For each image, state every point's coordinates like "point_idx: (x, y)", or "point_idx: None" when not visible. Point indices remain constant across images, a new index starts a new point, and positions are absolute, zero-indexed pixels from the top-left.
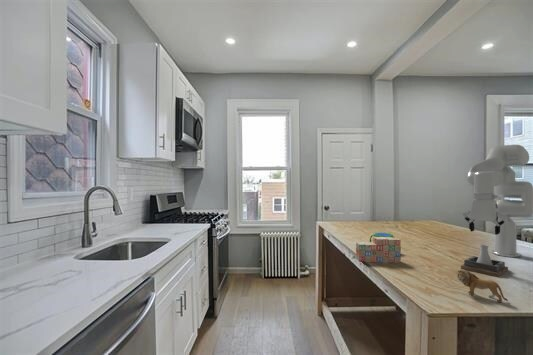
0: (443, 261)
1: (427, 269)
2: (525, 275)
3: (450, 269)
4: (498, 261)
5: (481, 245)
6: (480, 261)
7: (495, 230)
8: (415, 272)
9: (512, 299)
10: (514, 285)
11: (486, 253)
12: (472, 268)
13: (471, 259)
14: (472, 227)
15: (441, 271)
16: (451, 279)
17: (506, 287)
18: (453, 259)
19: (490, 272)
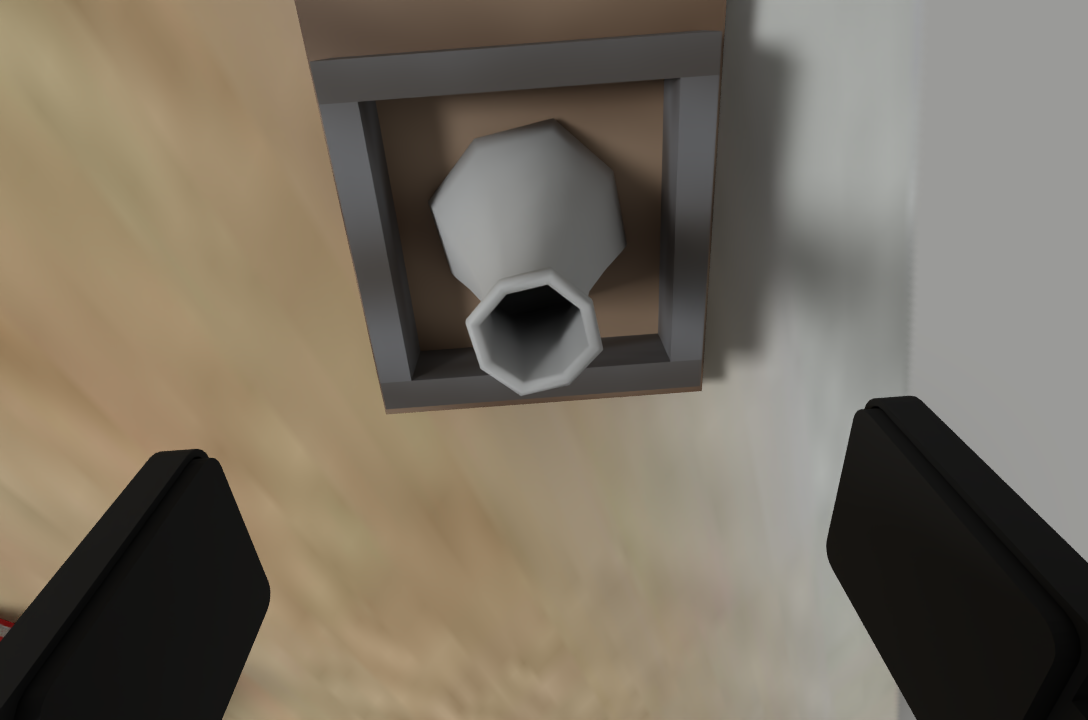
0: (118, 278)
1: (279, 618)
2: (893, 53)
3: (360, 487)
4: (653, 79)
5: (483, 317)
6: (516, 317)
7: (900, 663)
8: (298, 717)
9: (833, 691)
10: (824, 477)
11: (573, 312)
12: (492, 403)
13: (391, 267)
14: (214, 687)
15: (362, 584)
16: (503, 668)
17: (787, 555)
18: (68, 44)
19: (644, 392)
